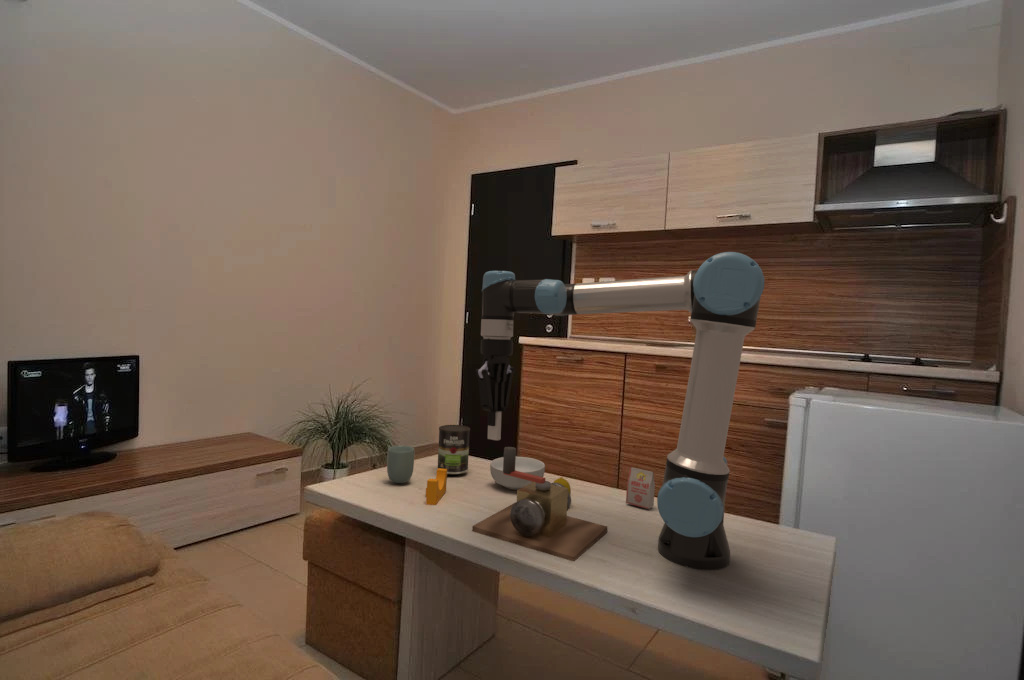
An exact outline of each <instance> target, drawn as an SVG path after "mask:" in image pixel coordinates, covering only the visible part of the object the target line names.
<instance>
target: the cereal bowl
mask: <svg viewBox="0 0 1024 680" xmlns="http://www.w3.org/2000/svg"><path fill="white" fill-rule="evenodd" d="M503 460H504V456H501V457H498V458H495V459H493V460H491V461H490V466H489V467H490V468H489V469H490V475H491V478H492V479H493V480H494V482H496V484H498V485H500V486H503V487H504V488H506V489H508V490H513V491H517V490H518V489H520V488H522V487H524V486H526V485H528V484H530V483H532V481H528V480H525V479H521V478H517V477H513V476H509V475H505V474H503ZM545 468H546V465H545V463H544V462H543V461H541V460H539V459H536V458H532V457H526V456H516V460H515V471H519V472H524V473H528V474H532V475H536V476H540V477H544V475H545V471H546V469H545Z"/></svg>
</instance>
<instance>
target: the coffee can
mask: <svg viewBox="0 0 1024 680" xmlns="http://www.w3.org/2000/svg"><path fill="white" fill-rule="evenodd" d="M470 432H471V428H470V427H469V426H466V425H461V424H444V425H441V426H439V427H438V447H437V448H438V449H437V451H438V453H437V469H438V468H442V469H447V475H461V474H465V473H468V471H469V453H470V451H469V450H470V435H471V434H470ZM437 469H436V470H437Z"/></svg>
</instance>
